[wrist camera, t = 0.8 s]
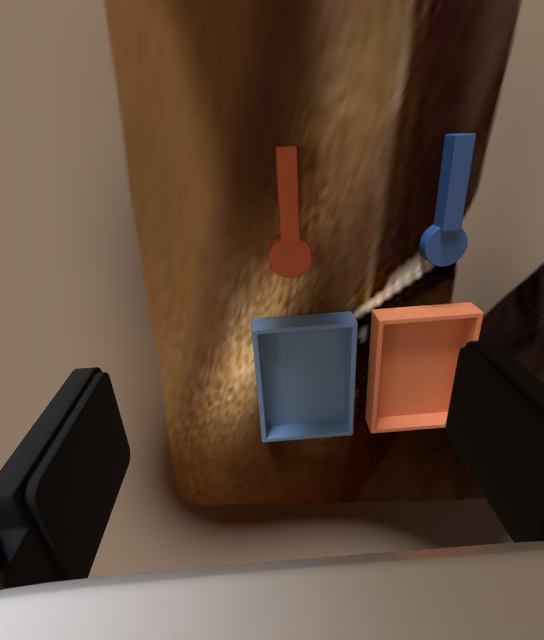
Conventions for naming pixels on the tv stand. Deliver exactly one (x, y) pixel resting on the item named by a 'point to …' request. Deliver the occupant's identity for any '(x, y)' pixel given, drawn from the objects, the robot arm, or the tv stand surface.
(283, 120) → the tv stand surface
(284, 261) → the terracotta spoon
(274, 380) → the blue tray
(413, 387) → the terracotta tray
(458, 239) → the blue spoon
